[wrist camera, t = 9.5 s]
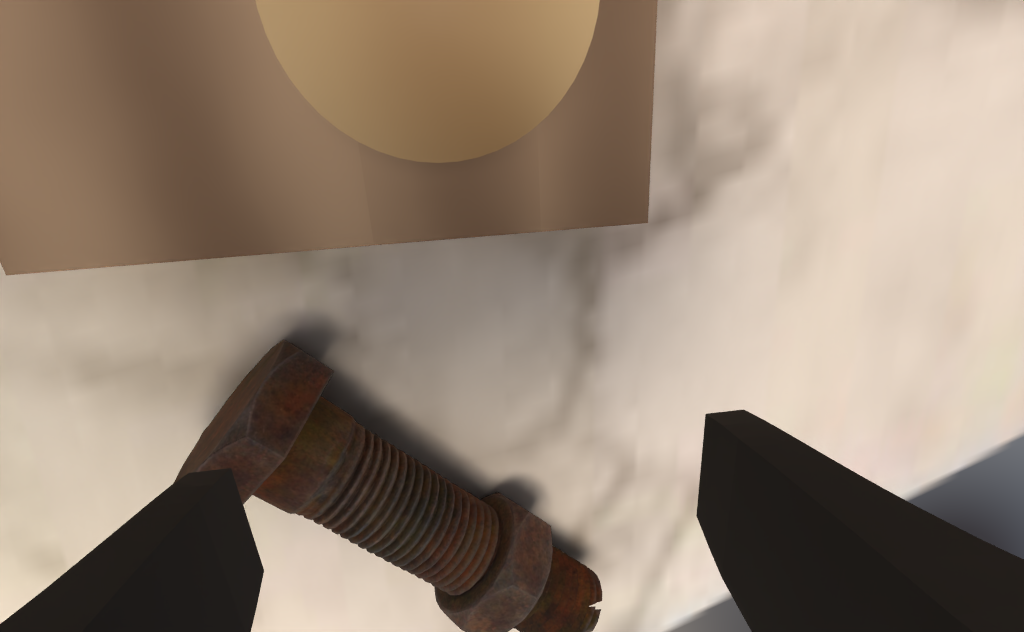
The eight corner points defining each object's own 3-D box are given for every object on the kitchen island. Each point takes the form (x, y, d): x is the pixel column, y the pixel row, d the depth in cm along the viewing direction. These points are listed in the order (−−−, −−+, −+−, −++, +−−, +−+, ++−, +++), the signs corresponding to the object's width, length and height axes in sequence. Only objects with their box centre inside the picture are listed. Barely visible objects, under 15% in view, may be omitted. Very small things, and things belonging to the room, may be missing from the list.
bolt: (545, 546, 26) (249, 363, 20) (633, 528, 23) (312, 305, 17) (517, 694, 22) (143, 518, 17) (619, 697, 19) (198, 480, 13)
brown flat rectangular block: (77, 240, 17) (6, 275, 14) (-86, -198, 13) (-231, -269, 10) (617, 198, 18) (647, 222, 15) (625, -214, 14) (669, -282, 11)
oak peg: (362, 132, 16) (303, 182, 10) (315, -85, 14) (196, -218, 8) (542, 108, 17) (609, 140, 10) (522, -110, 15) (590, -260, 8)
